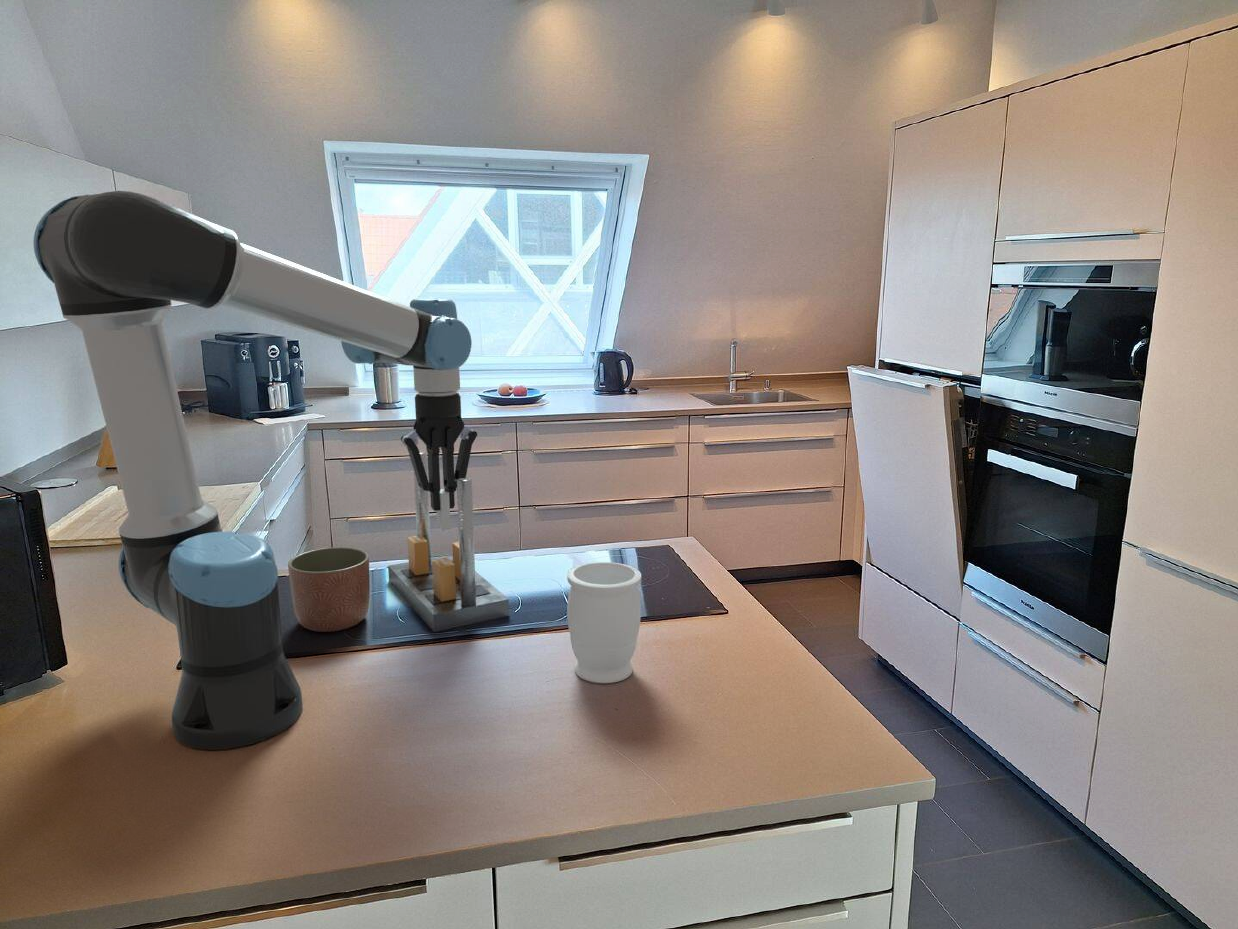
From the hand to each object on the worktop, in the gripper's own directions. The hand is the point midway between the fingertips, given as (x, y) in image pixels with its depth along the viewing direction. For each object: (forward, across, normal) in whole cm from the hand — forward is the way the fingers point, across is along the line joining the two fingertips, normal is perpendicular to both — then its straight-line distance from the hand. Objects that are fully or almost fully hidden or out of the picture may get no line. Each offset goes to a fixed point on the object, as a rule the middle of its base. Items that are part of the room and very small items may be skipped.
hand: (443, 527), depth 143 cm
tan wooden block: (+10, +3, -7) cm, 12 cm away
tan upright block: (+10, -3, 0) cm, 10 cm away
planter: (+13, +20, +1) cm, 24 cm away
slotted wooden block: (+10, +3, +7) cm, 12 cm away
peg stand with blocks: (+13, 0, 0) cm, 13 cm away
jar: (+13, -10, +38) cm, 42 cm away
